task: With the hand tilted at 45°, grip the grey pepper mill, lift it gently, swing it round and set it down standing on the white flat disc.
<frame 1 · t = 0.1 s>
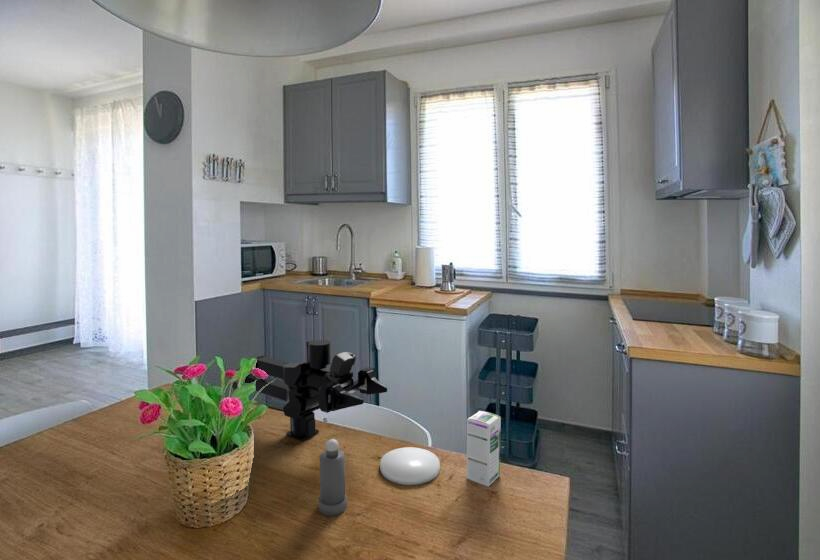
hand: (375, 395, 104), 17 cm above the table, tool horizontal, fingers open, 9 cm apart
syrup box: (482, 478, 99), on the table
pepper mill: (332, 506, 88), on the table
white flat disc: (409, 467, 103), on the table
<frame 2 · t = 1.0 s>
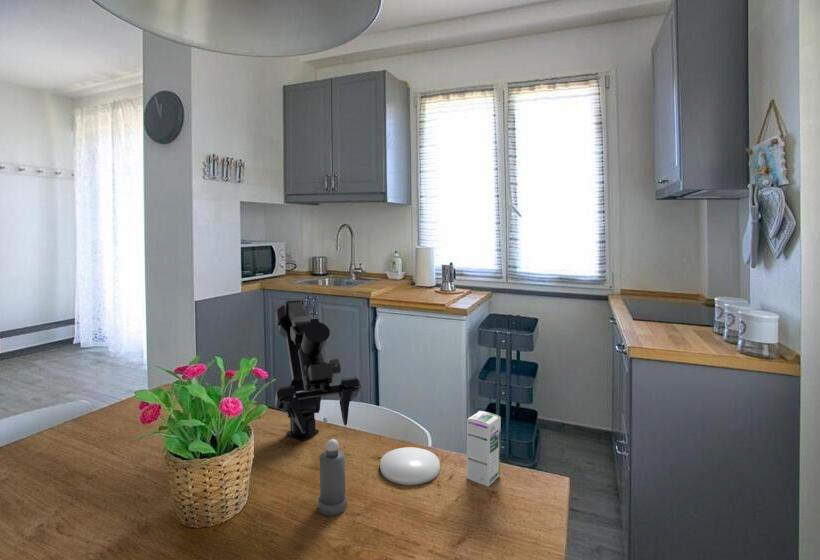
hand: (325, 428, 94), 13 cm above the table, tool tilted 45°, fingers open, 9 cm apart
nothing on the table moved.
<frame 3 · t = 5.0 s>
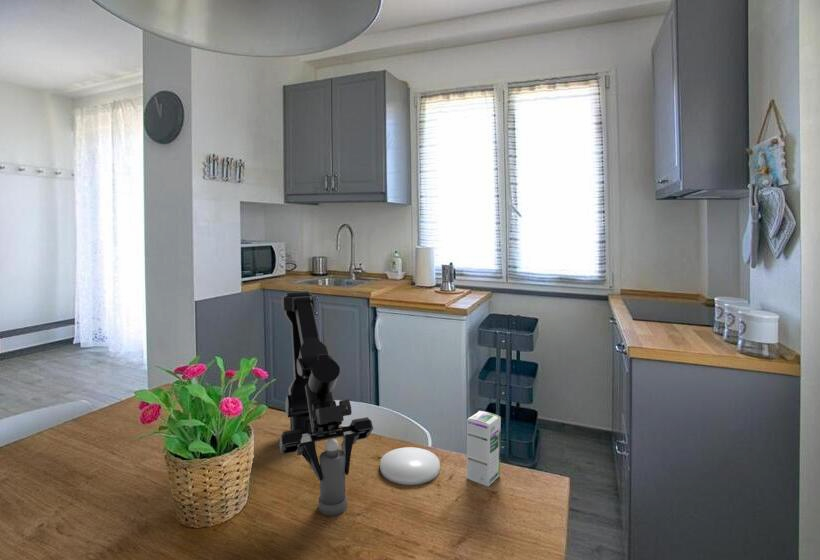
hand: (334, 477, 86), 7 cm above the table, tool tilted 45°, fingers closed on pepper mill, 5 cm apart
pepper mill: (332, 506, 88), on the table, touching gripper
everything else where it was.
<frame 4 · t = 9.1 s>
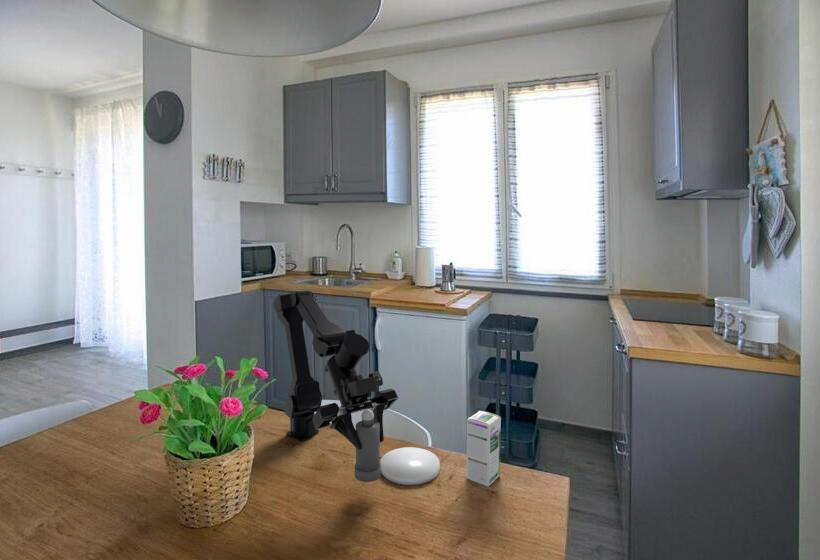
hand: (371, 445, 90), 11 cm above the table, tool tilted 45°, fingers closed on pepper mill, 5 cm apart
pepper mill: (367, 474, 92), point 4 cm above the table, touching gripper
everything else where it was.
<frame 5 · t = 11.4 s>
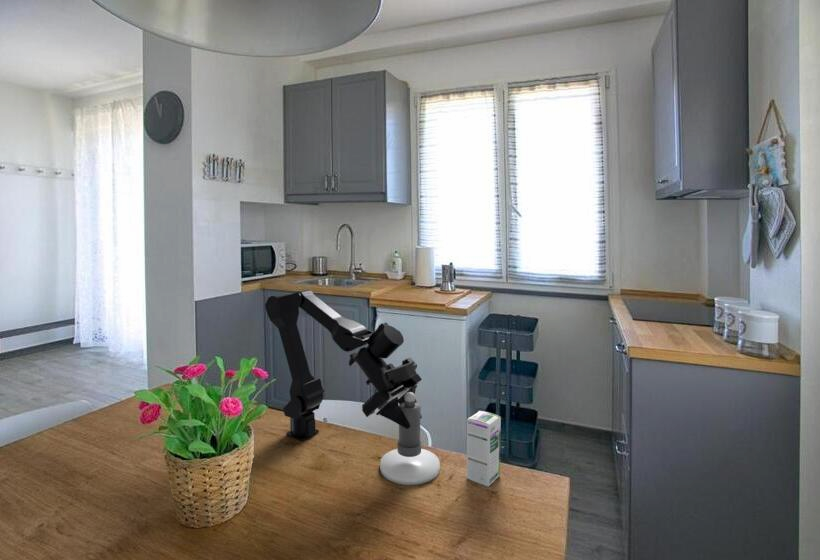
hand: (414, 423, 101), 11 cm above the table, tool tilted 45°, fingers closed on pepper mill, 5 cm apart
pepper mill: (409, 450, 102), point 4 cm above the table, touching gripper
everything else where it was.
when the fingers open (9 cm above the table, at t = 13.2 s): pepper mill stays where it is, resting on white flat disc.
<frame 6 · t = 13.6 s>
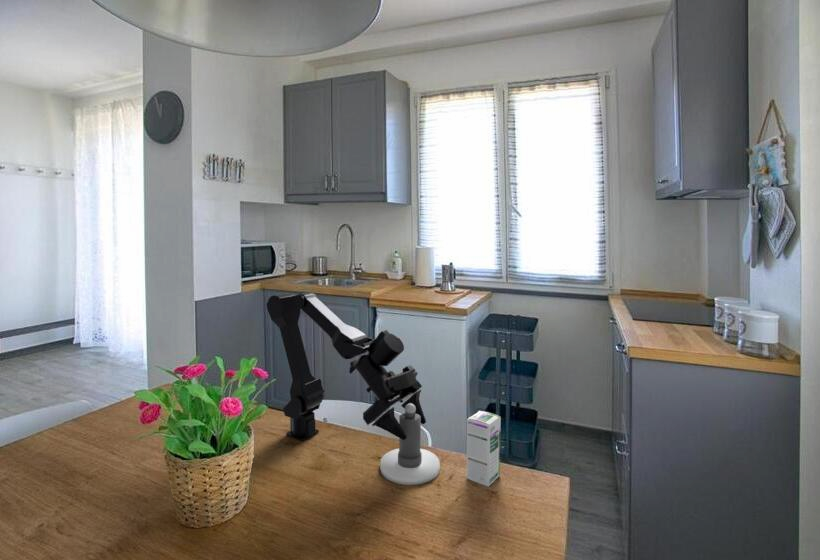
hand: (415, 430, 101), 10 cm above the table, tool tilted 45°, fingers open, 9 cm apart
pepper mill: (409, 461, 103), point 1 cm above the table, touching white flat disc
everything else where it was.
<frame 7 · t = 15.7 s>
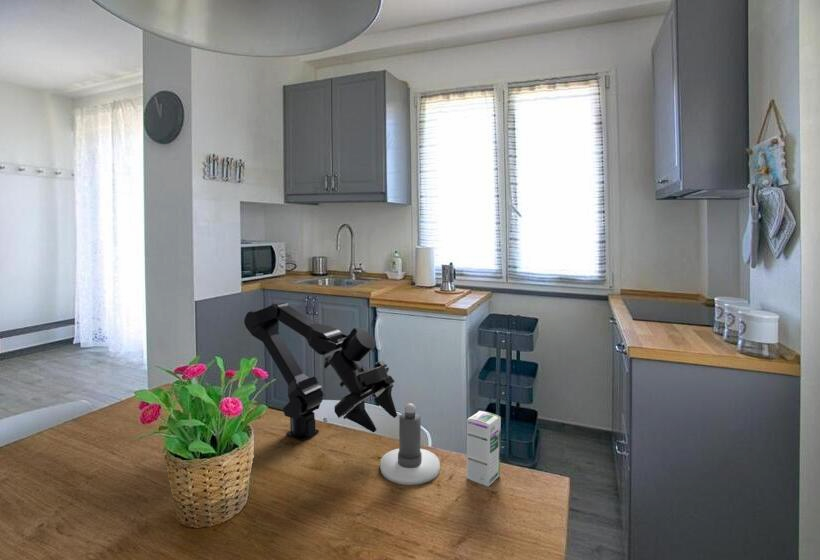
hand: (385, 423, 105), 9 cm above the table, tool tilted 45°, fingers open, 9 cm apart
nothing on the table moved.
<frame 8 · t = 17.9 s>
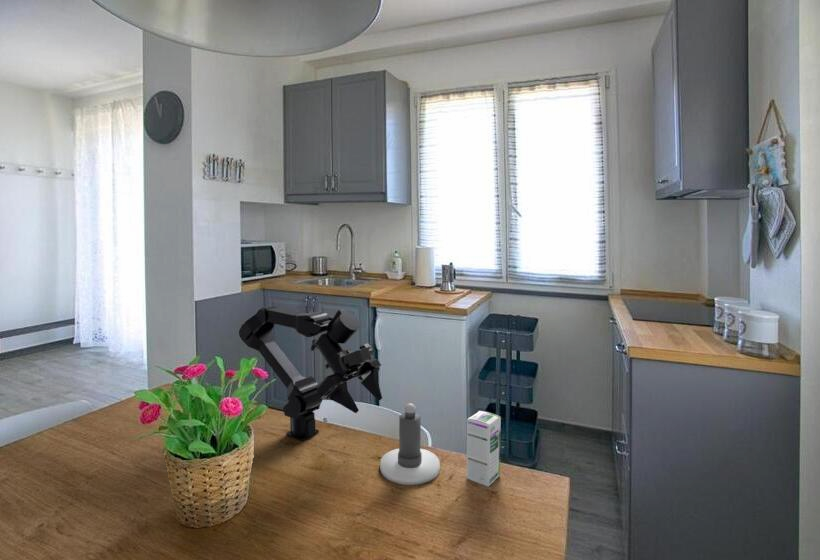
hand: (369, 405, 105), 14 cm above the table, tool tilted 45°, fingers open, 9 cm apart
nothing on the table moved.
at the end: pepper mill inside the target area on the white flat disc (0.1 cm from its centre), point 1.5 cm above the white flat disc's base; pepper mill tilted 0°; the gripper is holding nothing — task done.
